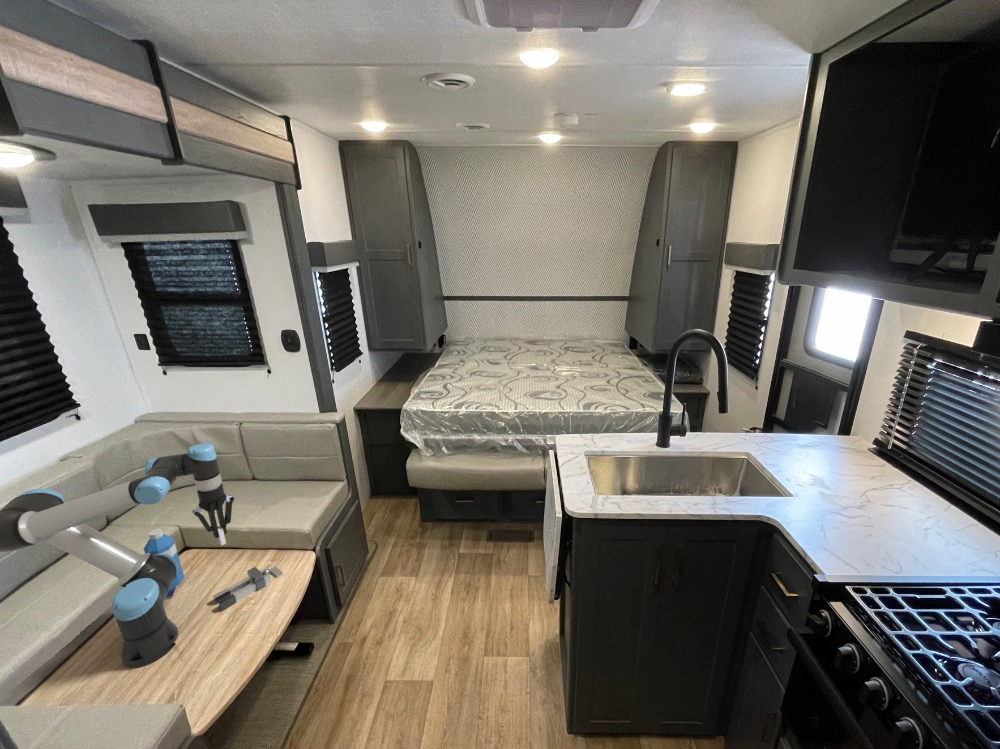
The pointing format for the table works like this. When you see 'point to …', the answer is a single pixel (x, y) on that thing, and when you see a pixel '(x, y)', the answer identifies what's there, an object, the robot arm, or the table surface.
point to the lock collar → (257, 577)
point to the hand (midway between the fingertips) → (222, 543)
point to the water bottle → (164, 551)
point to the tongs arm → (235, 588)
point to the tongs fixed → (246, 590)
